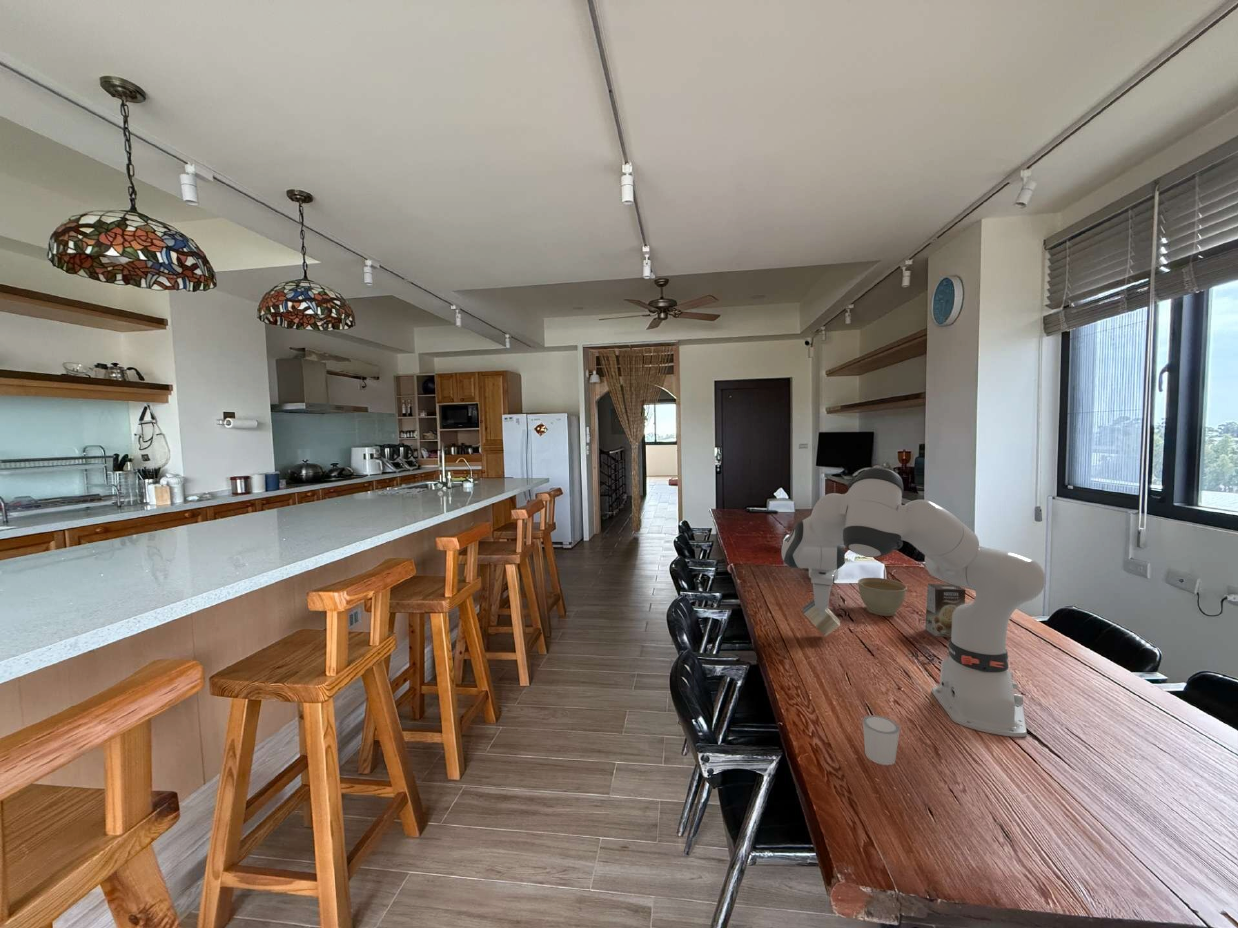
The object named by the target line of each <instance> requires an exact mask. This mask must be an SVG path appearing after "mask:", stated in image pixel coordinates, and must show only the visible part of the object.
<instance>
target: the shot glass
mask: <svg viewBox="0 0 1238 928" xmlns="http://www.w3.org/2000/svg"><path fill="white" fill-rule="evenodd" d="M862 730H863V743H864V744H863V745H864V755H865V756H866V757H867V759H868V760H870V761H871V762H874V763H875V764H878V765H882V766H891V765H894V764H895V763H896V761H897V760H896V759H897V752H898V751H897V750H898V743H899V739H900V737H899V735H900V726H899V724H898V723H896V722H895V721H893V720H892V719H889V718H887V717H884V716H882V715H877V714H876V715H866V716H864V717H863V718H862Z"/></svg>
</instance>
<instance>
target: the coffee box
mask: <svg viewBox="0 0 1238 928" xmlns="http://www.w3.org/2000/svg"><path fill="white" fill-rule="evenodd" d="M926 586H927V589H926V611H925V628H924V629H925V630H926V631H928V633H930V634H932V636H934V637H943V638H944V637H947V638H948V637H949V638H951V632H952V613H953V611H954V610H955V609H956V608H957V607H958V606H960V605H963V604H966V591H967V589H966V588H963V587H959V586H956V585H952V584H949V583H945V584H944V583H927V585H926Z"/></svg>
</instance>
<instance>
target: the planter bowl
mask: <svg viewBox="0 0 1238 928" xmlns="http://www.w3.org/2000/svg"><path fill="white" fill-rule="evenodd" d="M857 584H858V593H859V595H860V598H861V601H862V602H863V604H864V606H866V607H865V608H866V611H868V612H869V613H871V614H873V615H877V616H882V617H883V616H884V617H890V616H891V617H892V616H895V615H896V613H897V611H898V610H899V609H900V608H901V606H902V605H903V603H904V601H905V598H906V593H907V585H906V584H905V583H902V582H900V581H898V580H893V579H890V578H889V579H888V578H881V577H863V578H860V579H858V580H857Z"/></svg>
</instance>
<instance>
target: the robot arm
mask: <svg viewBox="0 0 1238 928" xmlns="http://www.w3.org/2000/svg"><path fill="white" fill-rule="evenodd" d="M846 486H847V488H848V490H847V492H846V493H842V494H841V493H836V492H835V493H834V492H832V493H827V494H825V495H823V496H822V497H820V498H819V499H818V500H817V501H816V503H815V505H814V506H813V508H812V511H811V514H810V515H809V516H808V517H806V518H804V519H803V520H800V521H798V522H797V523H796V524H795V525H794V526H793V527H792V530H791V531H790V533H789V535H788V536H787V537H786V538H785V539H784V540H783V543H782V546H781V551H780V552H781V558H782V561H783V563H784V564H785V565H786V566H787V567H788V568H790V569H808V577H809V578H810V583H811V584H812V591H813V600H814V602H815V607H816V608H819V617H822V618H824V617H825V609H827V608H828V609H829V603H830V596H831V589H832V587H833V585H834V583H835V581H837V580H838V579H839V577H838V576H839V569H840V568H842V567H843V566H844V565H845V564H846V562H845V561H846V560H845V554H846V553H845V552H846V549H848V550H849V551H850V552H852V553H854V554H856V555H859V556H862V557H866V558H880V557H884V556H887V555H889V554H891V553H892V552H893V551H898V550H899V549H901V548H902V547H903V545H904V542H903V541H905V542H907V543H909V544H910V545H912V546H913V548H916V550H918V551H919V552H920V553H922V554H923V555H924V565H925V566H924V567H925V569H926V571H927V572H928V573H929V575H930V576H931V577H934V578H936V579H938V580H941V581H942V582H944V583H945V584H952V585H956V586H959V587H961V588H963V589H966V590H970V591H975V597H974V600H973V601H972V602H967V603H966V602H965V604H963V605H960V606H958V607H957V608H956V609H955V610H954V611H953V613H952V632H951V637H950V639H949V641H948V656H947V657H946V658H945V659H943V660H942V661H941V665H940V675H939V686H938V685H937V686H932V688H931V693H932V694H933V696H934V697H935V698H936V700H937V701H938V703H939V704H940V705H941V707H942V708H943V709H944V711H945V712H946V713H947V714H948V716H949V717H950V719H951V721H953V722H954V723H956V724H957V725H960V726H964V727H965V728H969V729H973V730H976V731H979V732H983V733H988V734H993V735H999V736H1005V737H1014V738H1018V737H1019V738H1022V737H1023V738H1024V737H1027V736H1028V732H1027V726H1026V725H1027V724H1026V719H1025V712H1024V705H1023V704H1024V698H1023V695H1022V694H1017V693H1014V689H1015V690H1017V689H1018V683H1017V682H1014V681H1013V672H1012V671H1011V670H1010V668H1009V662H1010V661H1009V655H1008V653H1009V652H1008V650H1007V649H1006V646H1007V635H1008V626H1009V621H1010V619H1011V616H1012V615H1013V613H1014V612H1015V611H1016V609H1018V607H1020V606H1022V605H1023V604H1025V603H1028V602H1032V600H1035V599H1036V598H1038V597H1039V596H1040V595H1041V594H1042V593H1043V591H1044V589H1045V587H1046V574H1045V571H1044V570H1043V568H1042V566H1041V565H1040V563H1039V562H1037V561H1036V560H1034V559H1031V558H1029V557H1027V556H1023V555H1020V554H1018V553H1015V552H1010V551H1005V550H999V549H995V548H990V547H984V546H980V541H979V538H978V536H977V534H976V532H974V531H973V530H972V529H970V528H969V526H967V525H966V524H965V523H964V522H962V521H961V520H960V519H959V518H958V517H956V516H955V515H954V514H953V513H952V512H950V511H948V510H947V509H946V508H944V507H942V506H940V505H939V504H937V503H935V502H933V501H930V500H928V499H927V500H926V499H914V500H911V501H908V502H907V503H905V504H902V501H903V500H902V498H903V497H902V496H903V494H904V483H903V478H902V477H901V476H900V475H899V474H898V473H897V472H895V471H893V470H890V469H888V468H885V467H870V468H867V469H865V470H863V471H861V472H860V473H859V474H858V475H857V476H856V477H855V478H854V480H851V481H848V483H847V485H846Z"/></svg>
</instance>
